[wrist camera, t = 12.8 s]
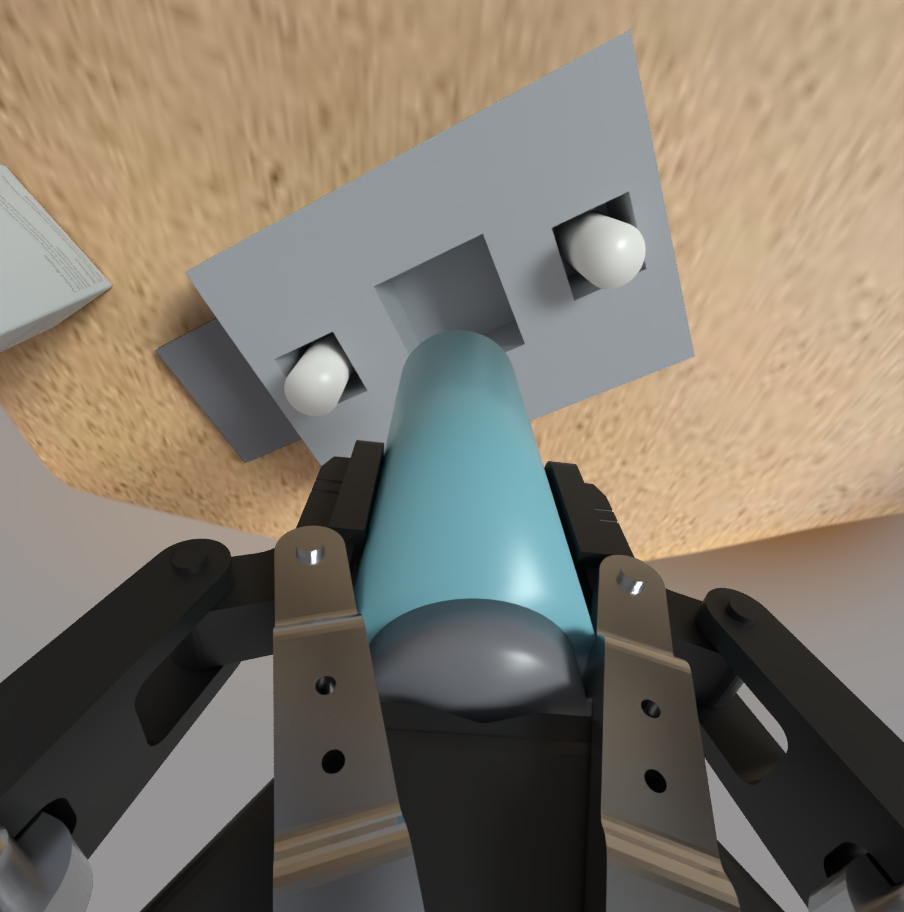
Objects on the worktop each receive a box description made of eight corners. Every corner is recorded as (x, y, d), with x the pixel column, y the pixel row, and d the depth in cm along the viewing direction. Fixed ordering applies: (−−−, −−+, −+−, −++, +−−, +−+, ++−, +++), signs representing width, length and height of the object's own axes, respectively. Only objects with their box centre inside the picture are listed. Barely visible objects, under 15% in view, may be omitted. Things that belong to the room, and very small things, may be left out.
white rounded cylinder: (305, 339, 32) (273, 379, 26) (344, 320, 32) (320, 357, 26) (329, 377, 34) (303, 423, 28) (367, 360, 33) (349, 404, 27)
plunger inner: (548, 223, 29) (574, 239, 23) (597, 200, 28) (637, 210, 22) (563, 271, 30) (591, 299, 24) (610, 250, 30) (651, 273, 24)
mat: (162, 345, 34) (155, 350, 33) (281, 284, 32) (277, 288, 31) (249, 456, 39) (244, 462, 38) (358, 409, 37) (356, 415, 36)
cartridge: (396, 430, 19) (326, 792, 8) (405, 322, 17) (325, 624, 6) (503, 443, 20) (574, 806, 9) (526, 338, 17) (661, 651, 6)
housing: (228, 253, 31) (184, 272, 26) (594, 55, 26) (630, 29, 21) (355, 450, 38) (340, 494, 33) (656, 326, 33) (694, 356, 28)
